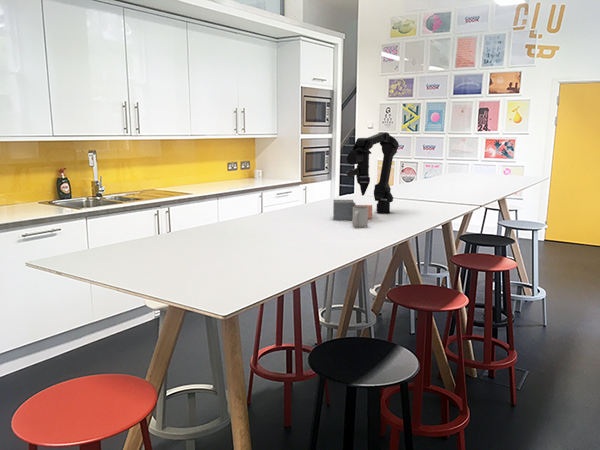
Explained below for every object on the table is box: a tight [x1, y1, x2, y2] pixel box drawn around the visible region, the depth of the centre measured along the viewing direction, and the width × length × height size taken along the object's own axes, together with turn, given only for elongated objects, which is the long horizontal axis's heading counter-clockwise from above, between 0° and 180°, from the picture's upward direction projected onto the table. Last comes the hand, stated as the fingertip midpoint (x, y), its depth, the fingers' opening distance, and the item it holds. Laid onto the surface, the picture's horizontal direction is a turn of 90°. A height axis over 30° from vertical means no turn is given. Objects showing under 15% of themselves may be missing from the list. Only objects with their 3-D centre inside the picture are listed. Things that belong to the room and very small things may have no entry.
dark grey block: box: [332, 199, 357, 221], centre depth 257 cm, size 11×10×9 cm
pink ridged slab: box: [354, 204, 373, 220], centre depth 257 cm, size 17×2×7 cm, turn 87°
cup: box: [351, 206, 369, 229], centre depth 237 cm, size 7×10×9 cm
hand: (362, 194), depth 257 cm, fingers open, 9 cm apart
